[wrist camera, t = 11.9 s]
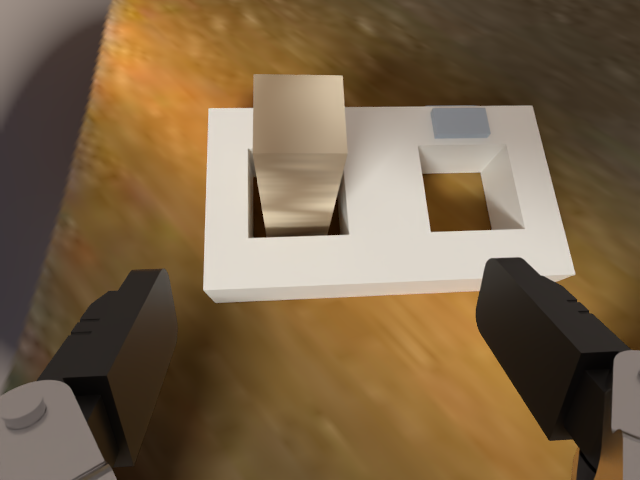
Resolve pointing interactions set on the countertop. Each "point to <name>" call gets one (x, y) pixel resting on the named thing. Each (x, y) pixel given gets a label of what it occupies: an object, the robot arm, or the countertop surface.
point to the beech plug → (298, 151)
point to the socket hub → (387, 208)
